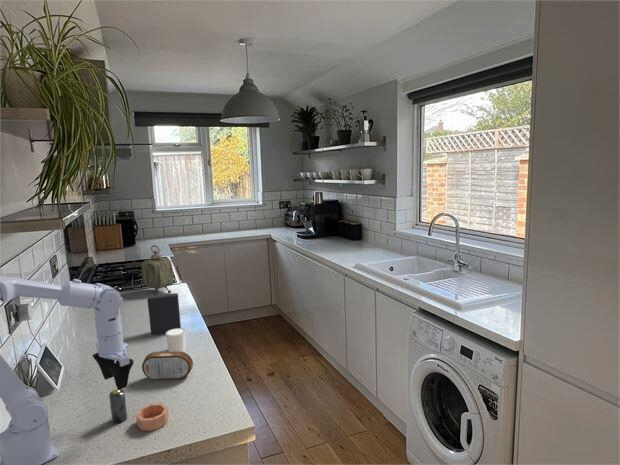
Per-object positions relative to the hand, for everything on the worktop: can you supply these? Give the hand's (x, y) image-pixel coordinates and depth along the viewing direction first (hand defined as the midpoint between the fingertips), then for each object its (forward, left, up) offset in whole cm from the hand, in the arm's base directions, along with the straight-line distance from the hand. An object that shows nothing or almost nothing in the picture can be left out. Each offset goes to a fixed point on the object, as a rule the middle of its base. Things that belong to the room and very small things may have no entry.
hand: (115, 382), depth 105 cm
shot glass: (+31, +24, -11) cm, 41 cm away
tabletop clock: (+60, +90, -11) cm, 109 cm away
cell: (0, 0, -10) cm, 10 cm away
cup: (+5, -8, -10) cm, 14 cm away
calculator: (+37, +42, -11) cm, 57 cm away
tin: (+19, +9, -11) cm, 24 cm away
